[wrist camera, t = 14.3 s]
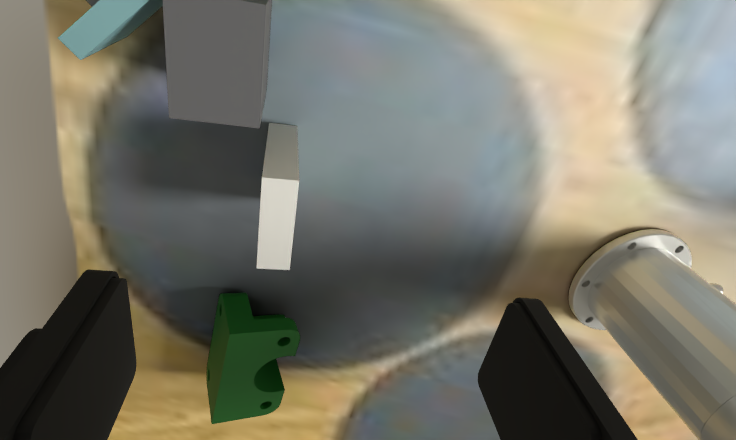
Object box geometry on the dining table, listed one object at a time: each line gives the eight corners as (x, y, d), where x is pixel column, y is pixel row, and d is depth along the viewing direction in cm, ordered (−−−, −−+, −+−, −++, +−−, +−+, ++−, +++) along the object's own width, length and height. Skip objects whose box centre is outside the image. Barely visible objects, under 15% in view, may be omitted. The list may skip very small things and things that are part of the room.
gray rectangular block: (272, -8, 27) (266, 4, 20) (266, 88, 30) (259, 128, 23) (195, -23, 26) (161, -14, 19) (197, 79, 29) (169, 118, 22)
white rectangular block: (336, -282, 21) (363, -419, 13) (289, 200, 34) (289, 271, 27) (295, -296, 21) (298, -445, 13) (264, 198, 34) (256, 270, 26)
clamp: (262, 328, 47) (272, 416, 42) (204, 333, 44) (208, 428, 40) (295, 278, 38) (312, 382, 34) (225, 279, 36) (233, 393, 31)
